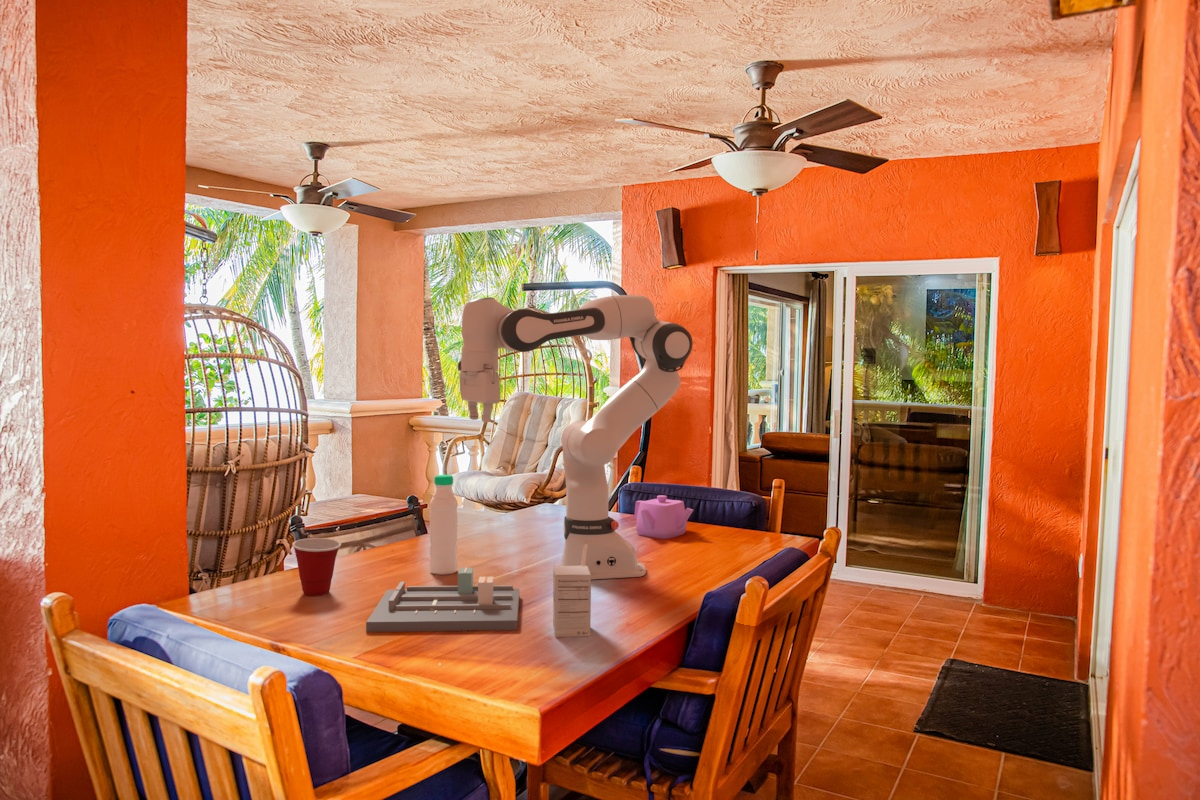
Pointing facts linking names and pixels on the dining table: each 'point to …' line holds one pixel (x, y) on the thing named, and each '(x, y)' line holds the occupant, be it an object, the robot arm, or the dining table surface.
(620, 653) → the dining table surface
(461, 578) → the fader
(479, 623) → the console
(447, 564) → the water bottle
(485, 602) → the fader
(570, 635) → the supplement box
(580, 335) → the robot arm
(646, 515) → the teakettle
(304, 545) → the plastic cup
